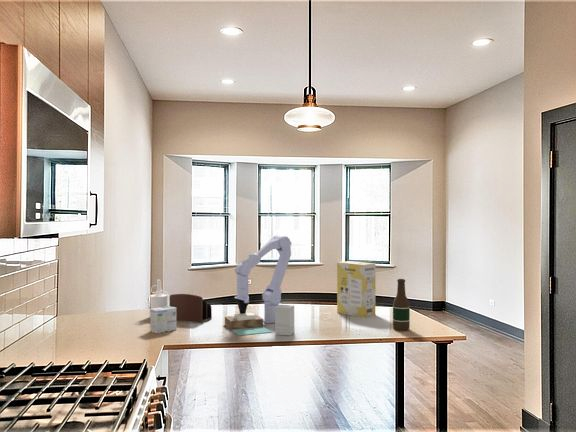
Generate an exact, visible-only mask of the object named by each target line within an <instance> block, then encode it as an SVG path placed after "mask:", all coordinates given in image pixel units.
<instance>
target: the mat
mask: <svg viewBox="0 0 576 432" xmlns="http://www.w3.org/2000/svg"><path fill="white" fill-rule="evenodd" d="M231 331H232V332H234V333H235V334H236V335H237V336H239V337H240V336H248V335H249V336H251V335H261V334H269V333H272V331H271V330H269V329H268V328H266V327H265V326H263V327H257V328H246V329H235V330H231Z"/></svg>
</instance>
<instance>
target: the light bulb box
mask: <svg viewBox="0 0 576 432" xmlns="http://www.w3.org/2000/svg"><path fill="white" fill-rule="evenodd" d="M149 311H150V312H149V313H150V315H149V319H150V332H151V331H153V332H152V333H154V332H156V333H155V334H160V333H159V332H162V333H166V332H165V331H168V332H171V331H172V330H173V331H177V325H178V324H177V323H178V322H177V321H176V307H171V306H168V305H167V307H160V308H154V309H151V308H150V310H149Z"/></svg>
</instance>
